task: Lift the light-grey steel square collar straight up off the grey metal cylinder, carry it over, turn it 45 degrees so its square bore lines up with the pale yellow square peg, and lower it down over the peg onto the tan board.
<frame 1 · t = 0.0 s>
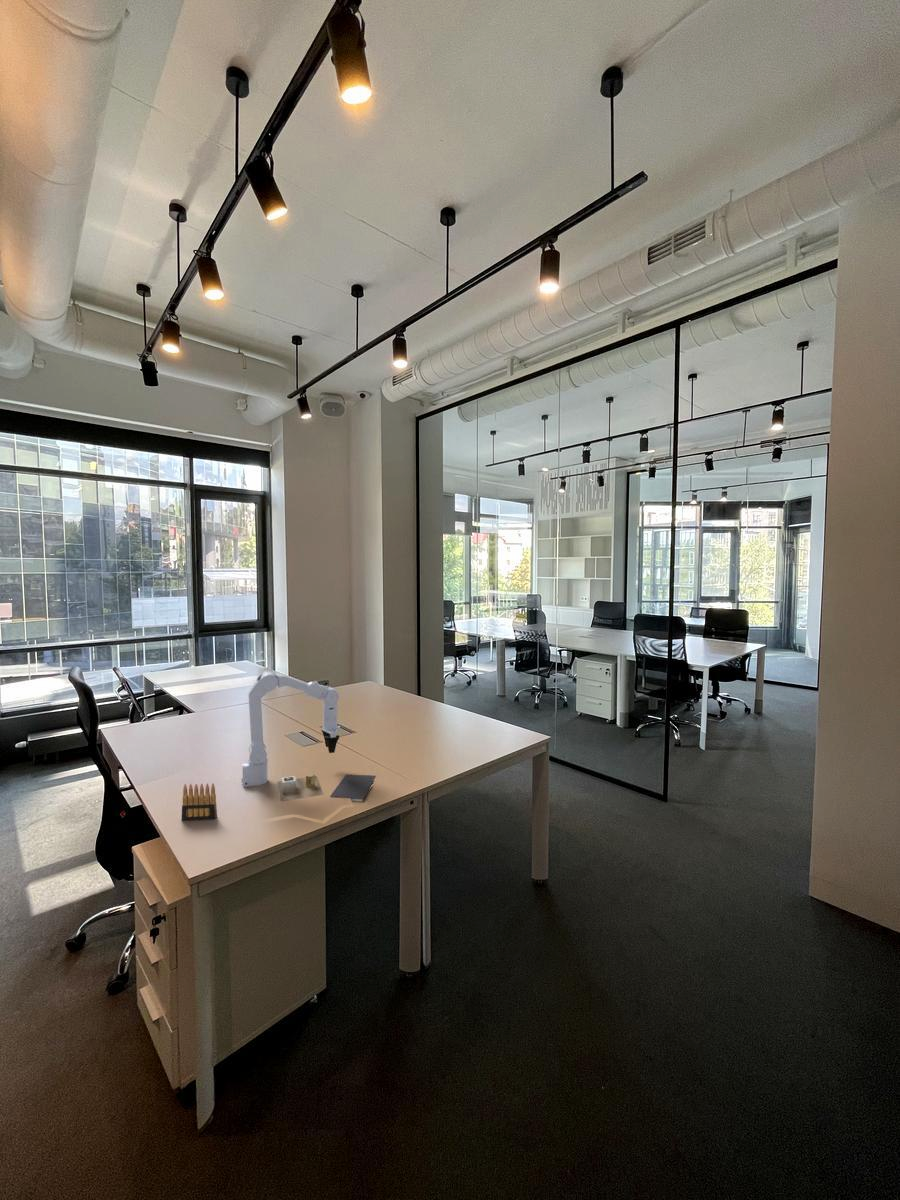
hand: (330, 749, 201), 10 cm above the table, fingers open, 7 cm apart
steel collar: (288, 784, 183), on the tan board, point 3 cm above the table
tan board: (299, 790, 185), on the table
grey metal cylinder: (288, 783, 183), on the tan board, point 3 cm above the table
notebook: (353, 790, 187), on the table
ammunition clip: (199, 819, 162), on the table
pale yellow square peg: (310, 786, 186), resting on tan board
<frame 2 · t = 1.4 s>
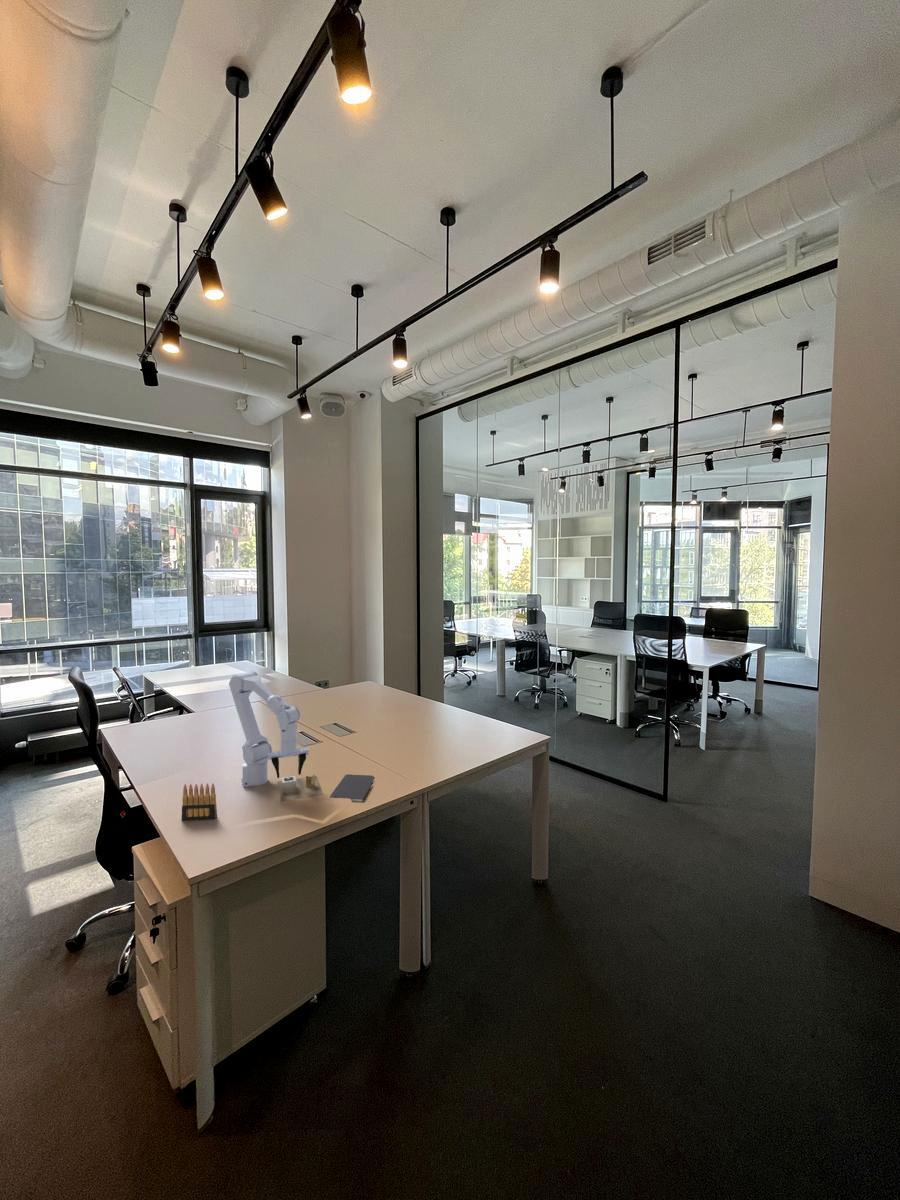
hand: (288, 775, 183), 6 cm above the table, fingers open, 7 cm apart
nothing on the table moved.
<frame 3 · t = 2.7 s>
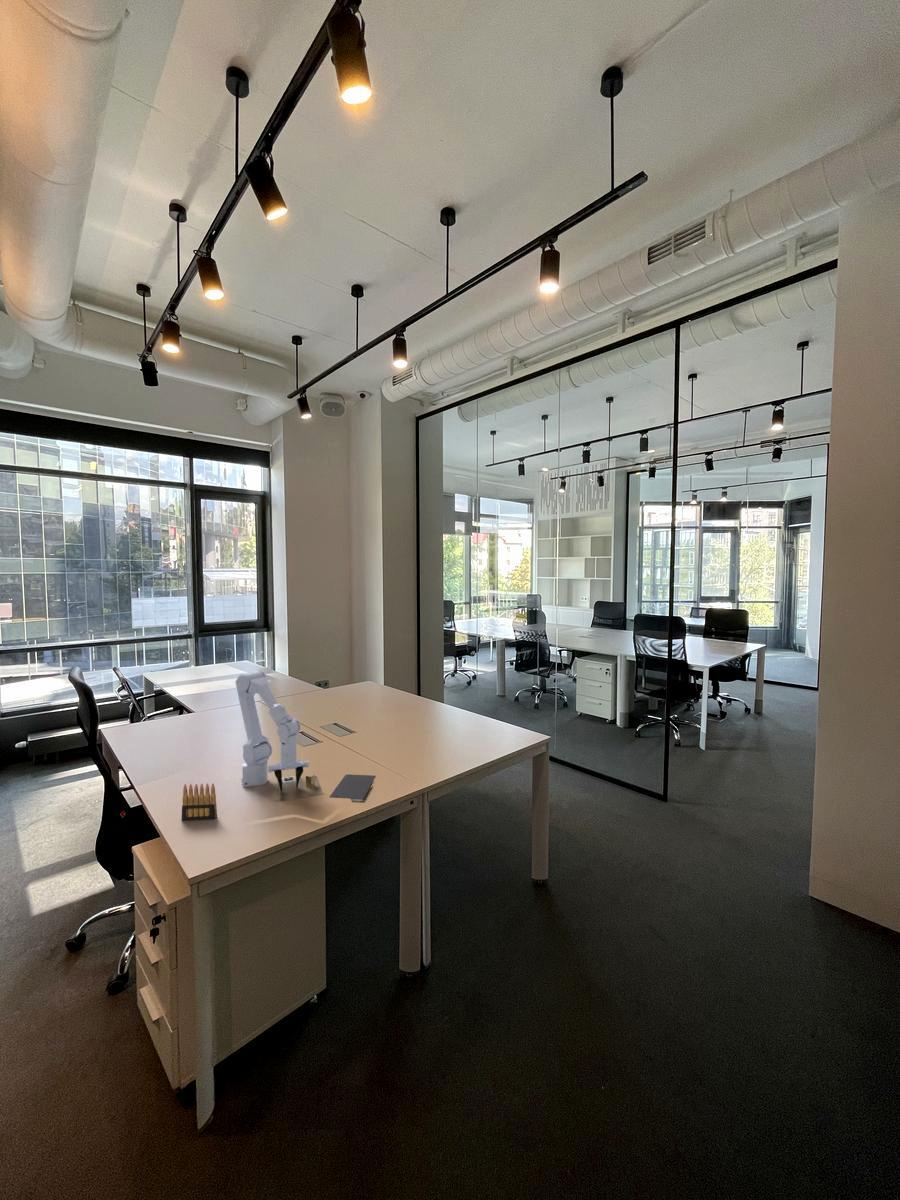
hand: (288, 787, 183), 2 cm above the table, fingers closed on steel collar, 5 cm apart
steel collar: (288, 784, 183), on the tan board, point 3 cm above the table, touching gripper
everything else where it was.
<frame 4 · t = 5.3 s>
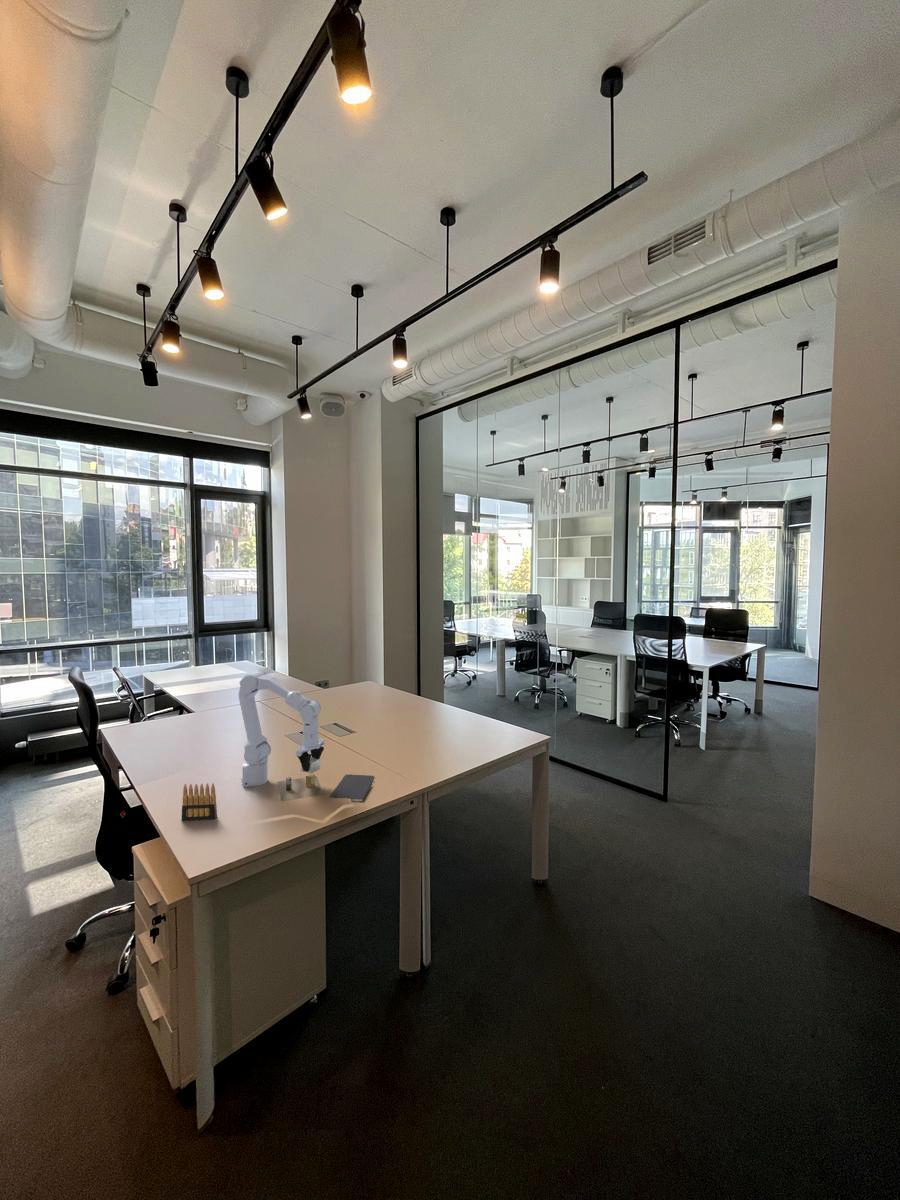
hand: (310, 768, 186), 8 cm above the table, fingers closed on steel collar, 5 cm apart
steel collar: (310, 764, 186), point 9 cm above the table, touching gripper
everything else where it was.
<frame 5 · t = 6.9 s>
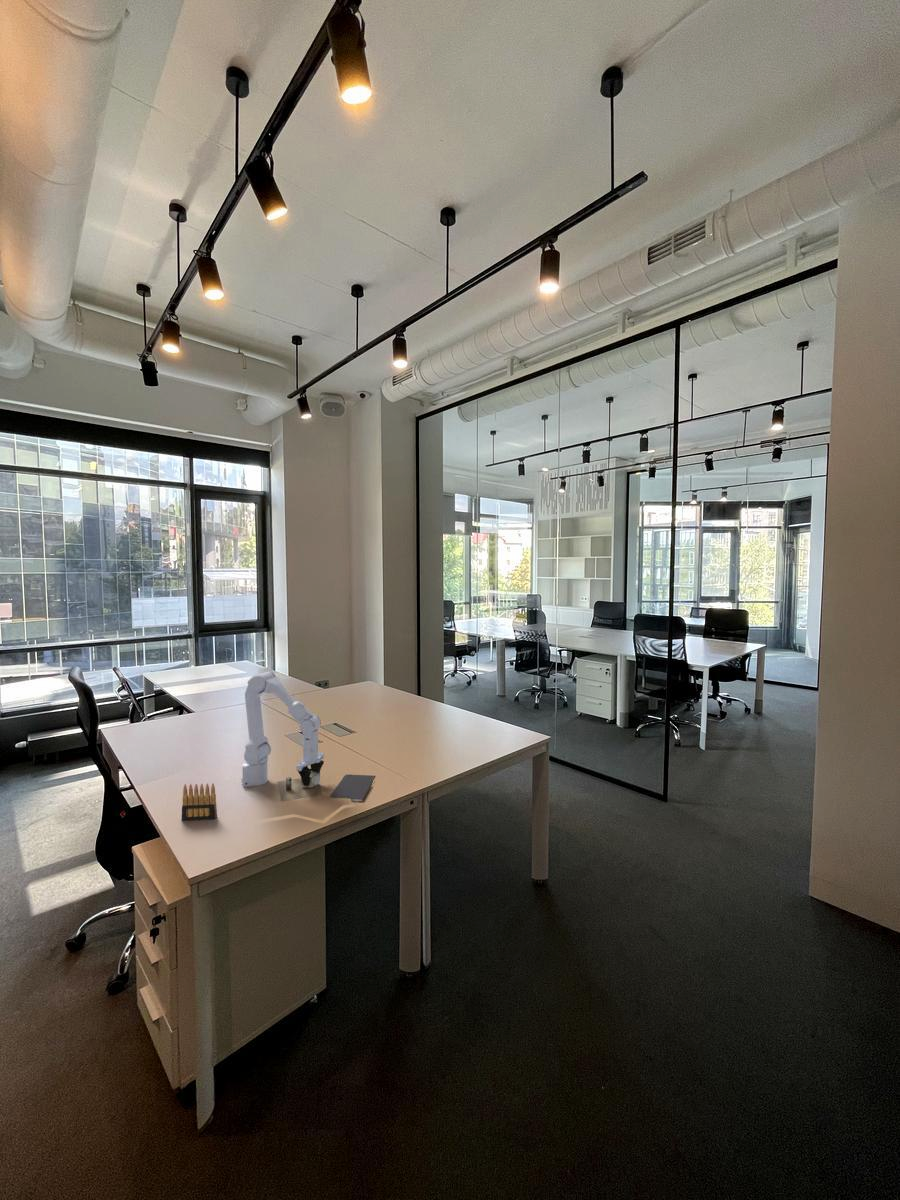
hand: (310, 782, 186), 2 cm above the table, fingers closed on steel collar, 5 cm apart
steel collar: (310, 779, 186), point 4 cm above the table, touching gripper
everything else where it was.
when the fingers open (2 cm above the table, at t = 8.0 s): steel collar stays where it is, resting on tan board.
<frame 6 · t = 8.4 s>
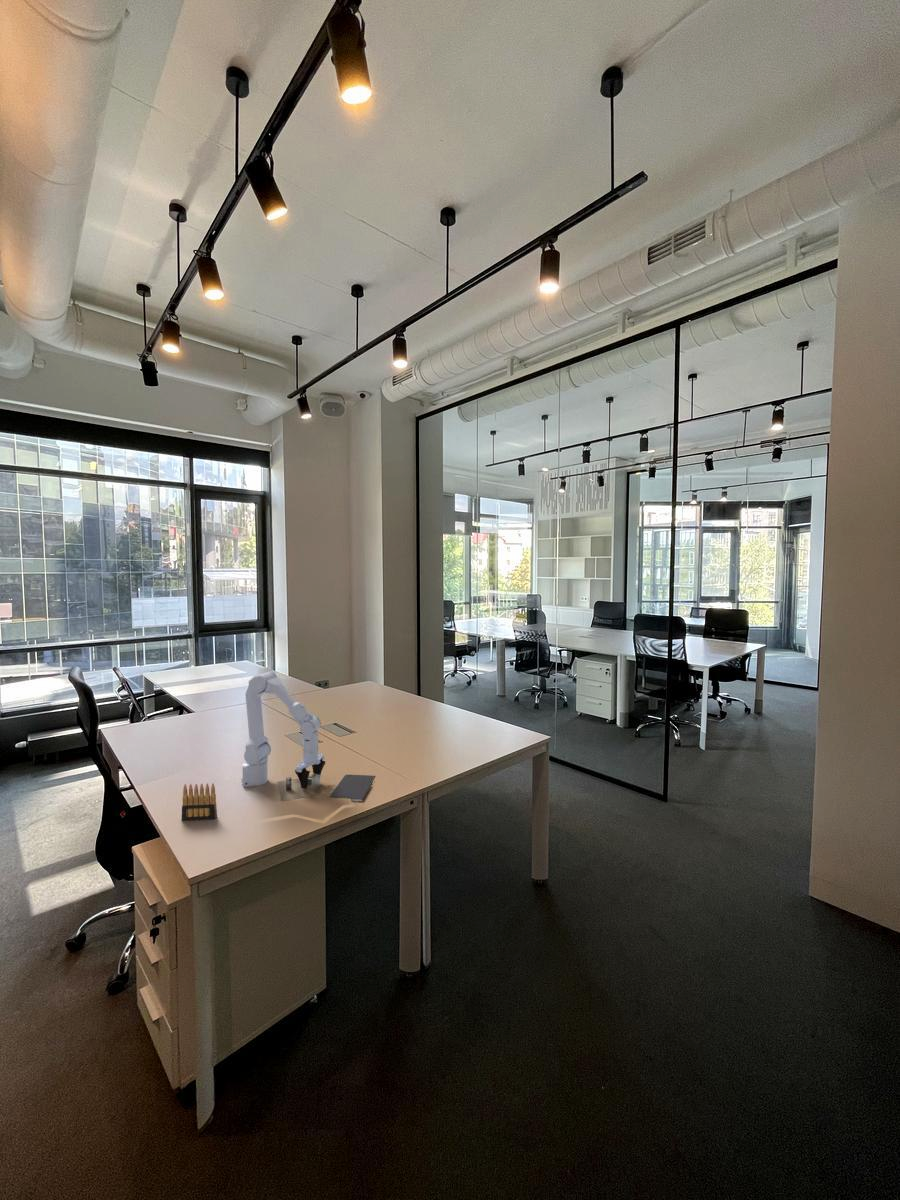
hand: (310, 783, 186), 2 cm above the table, fingers open, 7 cm apart
steel collar: (310, 781, 186), on the tan board, point 3 cm above the table
everything else where it was.
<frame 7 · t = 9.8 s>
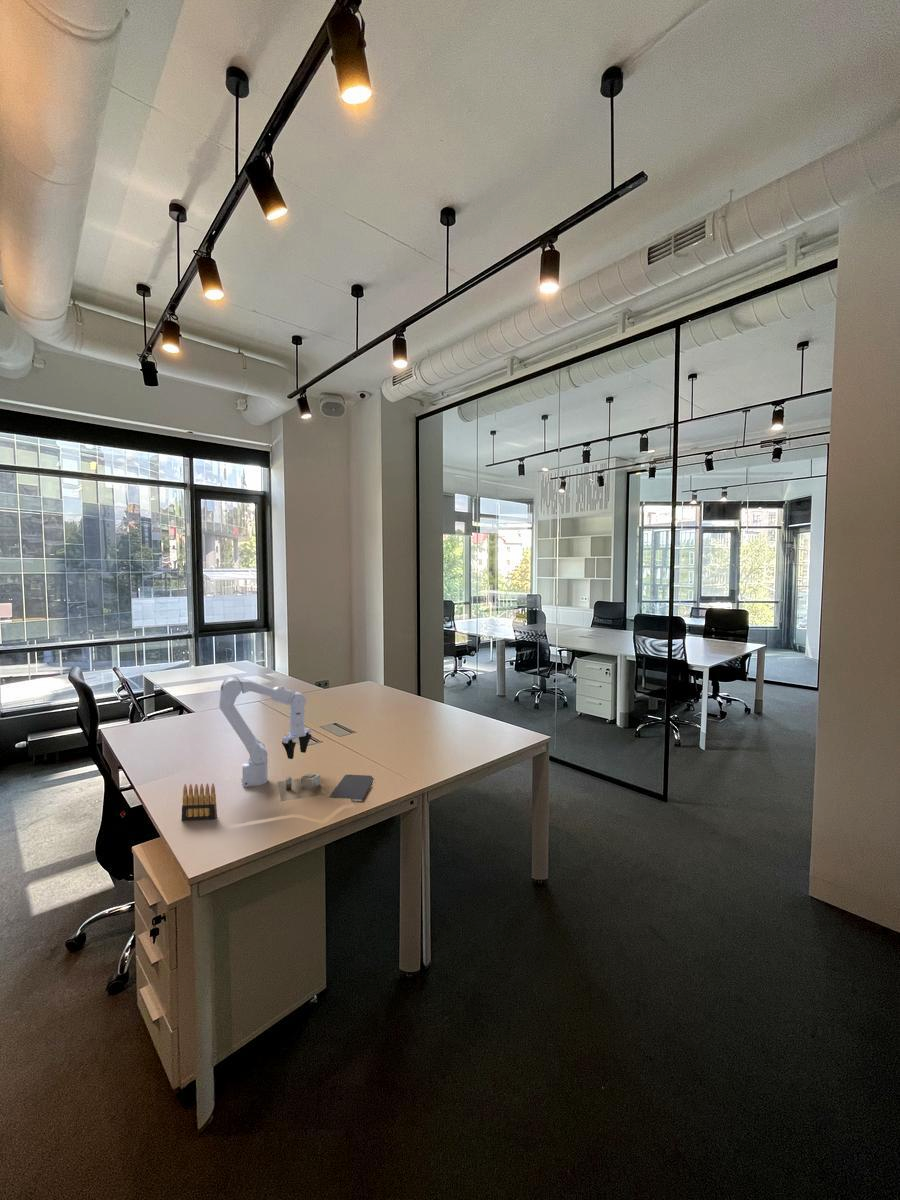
hand: (296, 755, 196), 9 cm above the table, fingers open, 7 cm apart
nothing on the table moved.
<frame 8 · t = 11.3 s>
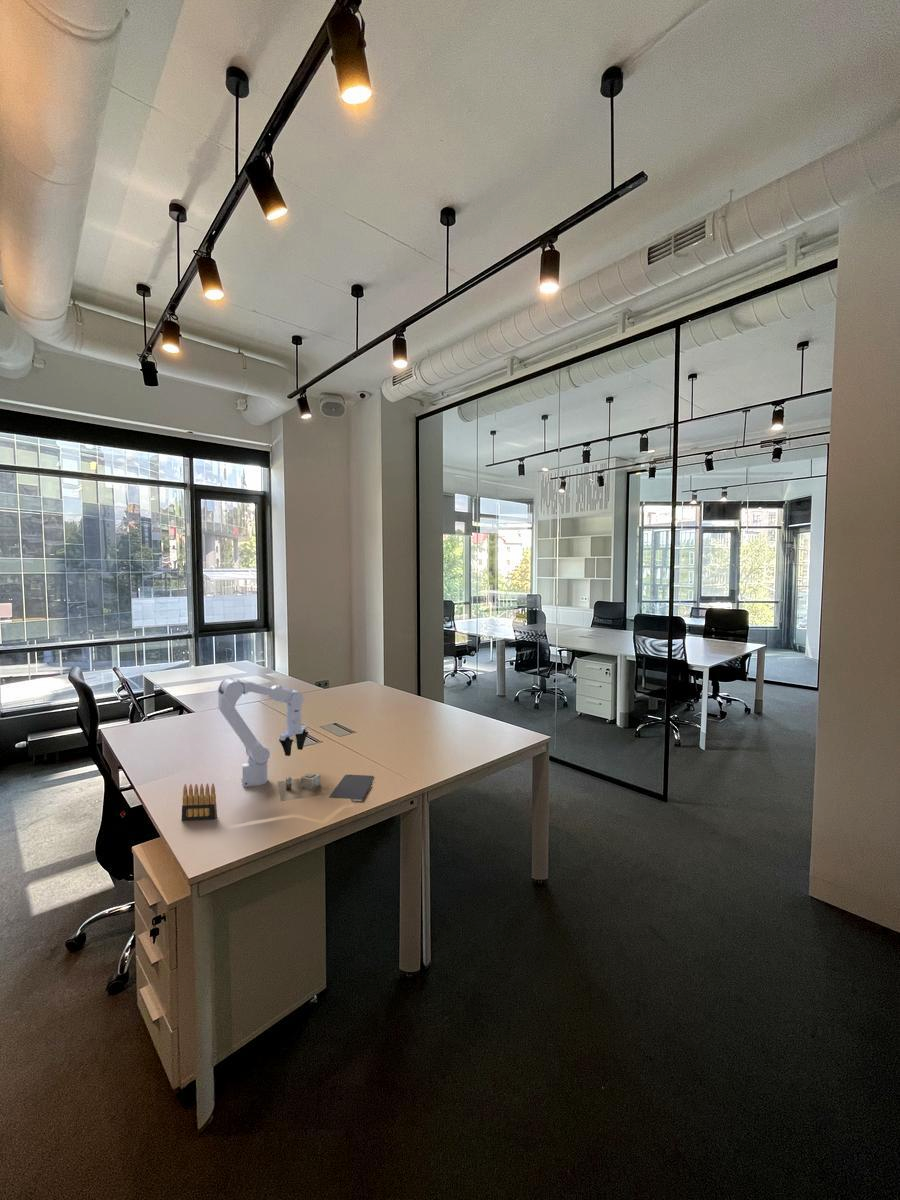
hand: (293, 752, 199), 9 cm above the table, fingers open, 7 cm apart
nothing on the table moved.
at the end: steel collar 0.0 cm from the pale yellow square peg (horizontally); steel collar point 3.0 cm above the table; steel collar tilted 0° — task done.
